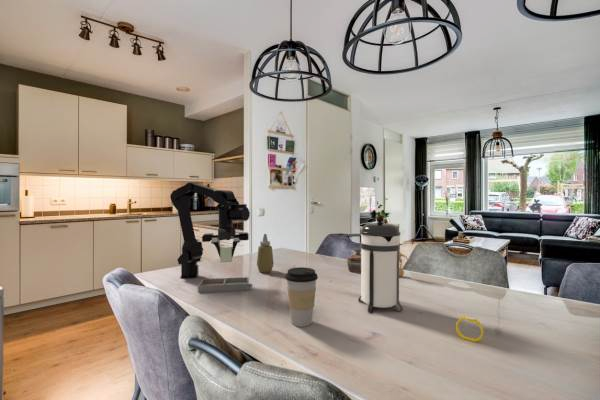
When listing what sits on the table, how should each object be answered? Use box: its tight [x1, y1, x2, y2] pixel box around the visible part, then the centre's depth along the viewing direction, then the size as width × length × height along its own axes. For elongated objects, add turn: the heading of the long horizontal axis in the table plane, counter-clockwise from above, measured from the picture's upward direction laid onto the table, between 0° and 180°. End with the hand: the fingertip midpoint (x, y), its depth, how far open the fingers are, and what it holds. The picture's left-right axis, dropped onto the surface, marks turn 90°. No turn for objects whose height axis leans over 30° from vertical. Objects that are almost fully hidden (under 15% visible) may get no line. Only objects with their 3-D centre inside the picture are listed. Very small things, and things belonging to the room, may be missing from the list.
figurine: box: [399, 250, 410, 278], centre depth 134 cm, size 8×6×12 cm
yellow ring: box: [455, 314, 484, 343], centre depth 77 cm, size 6×3×6 cm, turn 53°
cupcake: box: [346, 249, 361, 274], centre depth 145 cm, size 10×10×10 cm
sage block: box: [219, 245, 233, 263], centre depth 127 cm, size 4×4×6 cm
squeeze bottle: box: [256, 233, 274, 274], centre depth 144 cm, size 8×8×18 cm
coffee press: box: [358, 215, 403, 314], centre depth 100 cm, size 17×16×30 cm
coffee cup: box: [284, 267, 319, 328], centre depth 87 cm, size 9×9×15 cm
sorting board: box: [197, 276, 250, 294], centre depth 119 cm, size 18×10×2 cm, turn 98°
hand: (226, 257), depth 127 cm, fingers closed on sage block, 4 cm apart
